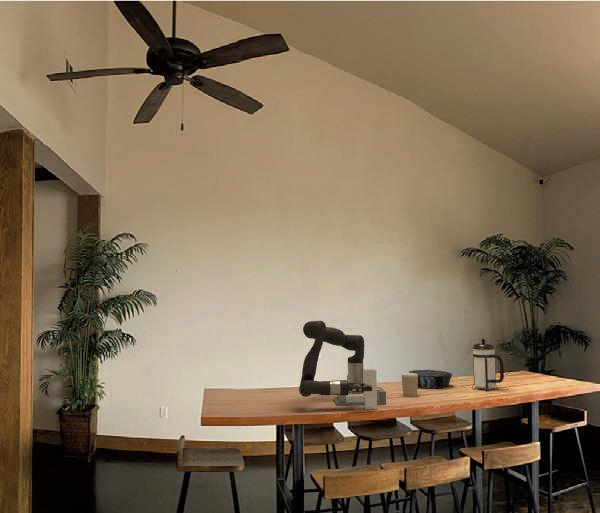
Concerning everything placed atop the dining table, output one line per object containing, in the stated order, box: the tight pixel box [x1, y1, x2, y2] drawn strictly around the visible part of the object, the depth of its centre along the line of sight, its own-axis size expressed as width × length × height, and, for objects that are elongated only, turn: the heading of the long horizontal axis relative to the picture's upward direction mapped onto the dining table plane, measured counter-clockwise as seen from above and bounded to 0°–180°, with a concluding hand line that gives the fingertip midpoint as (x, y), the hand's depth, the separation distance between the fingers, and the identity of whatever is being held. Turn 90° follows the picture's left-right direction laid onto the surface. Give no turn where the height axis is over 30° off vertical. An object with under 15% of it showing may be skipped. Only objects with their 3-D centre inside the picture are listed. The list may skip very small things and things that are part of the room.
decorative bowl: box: [408, 369, 453, 390], centre depth 325 cm, size 26×28×10 cm
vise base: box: [332, 386, 387, 407], centre depth 278 cm, size 26×15×8 cm, turn 94°
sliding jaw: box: [336, 395, 347, 402], centre depth 277 cm, size 3×13×6 cm, turn 4°
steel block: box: [362, 368, 378, 410], centre depth 264 cm, size 6×4×19 cm
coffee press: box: [471, 338, 505, 392], centre depth 311 cm, size 17×16×30 cm
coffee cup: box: [400, 372, 419, 398], centre depth 294 cm, size 9×9×12 cm
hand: (370, 387), depth 264 cm, fingers open, 8 cm apart
